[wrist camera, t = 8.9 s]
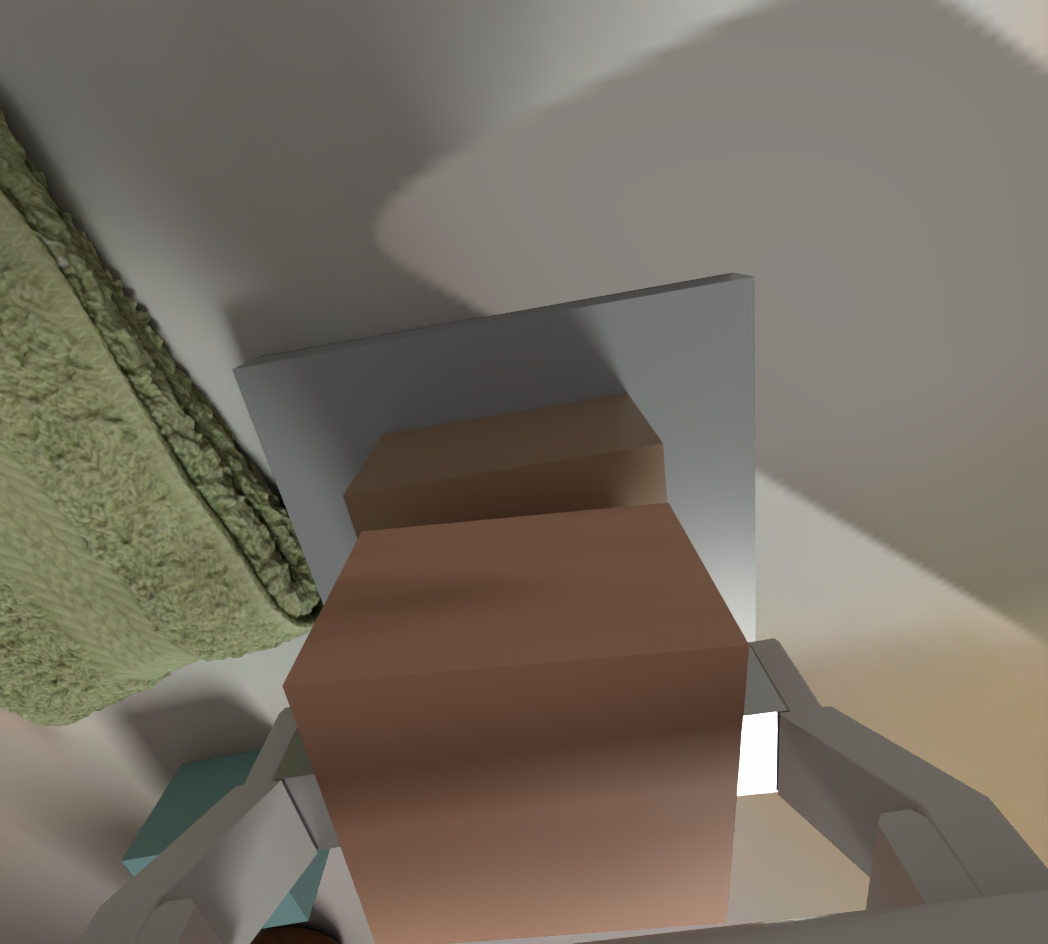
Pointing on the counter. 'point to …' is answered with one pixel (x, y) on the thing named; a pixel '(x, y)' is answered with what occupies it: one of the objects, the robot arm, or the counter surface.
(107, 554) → the washcloth
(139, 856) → the brick
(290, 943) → the wooden figurine
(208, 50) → the counter surface
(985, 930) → the robot arm
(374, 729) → the brick
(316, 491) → the baseplate
